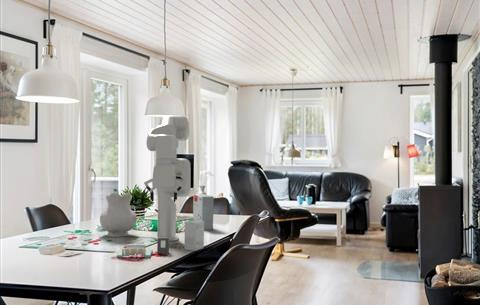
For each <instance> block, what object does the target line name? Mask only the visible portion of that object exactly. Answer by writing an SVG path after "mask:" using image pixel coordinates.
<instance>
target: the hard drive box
mask: <svg viewBox="0 0 480 305" xmlns="http://www.w3.org/2000/svg"><path fill="white" fill-rule="evenodd" d="M192 196H193V201H192V202H193V203H192V204H193V205H192V206H193V207H192V213H193V214H192V215H193V216H192V220H193V219H194V220H199V221H204V231H212V230H213V229H214V195H209V194H205V193H200V194H199V193H195V194H193V195H192Z"/></svg>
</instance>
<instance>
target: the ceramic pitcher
mask: <svg viewBox="0 0 480 305" xmlns="http://www.w3.org/2000/svg"><path fill="white" fill-rule="evenodd" d="M105 198H106V199H105V200H106V201H107V208H106V209H105V210H104V211H102V213H101V214H100V217H99V223H100V226H101V228H102V229H103V230H104V231H106V232H107V234H106V236H107V237H109V238H121V237H126V236H127V237H128V236H130V234H129V232H130V231H131V230H133V229H134V227H135V226H136V223H137V220H138V216H137V213H136V212H134V211H133V210H132V209H131V206H130V204H131V200H132V198H133V195H132V194H131V193H130V192H126V193H125V194H124V195H120V193H119V190H118V189H117V188H113V192H110V194H109V195H108V194H107V195H105Z"/></svg>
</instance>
